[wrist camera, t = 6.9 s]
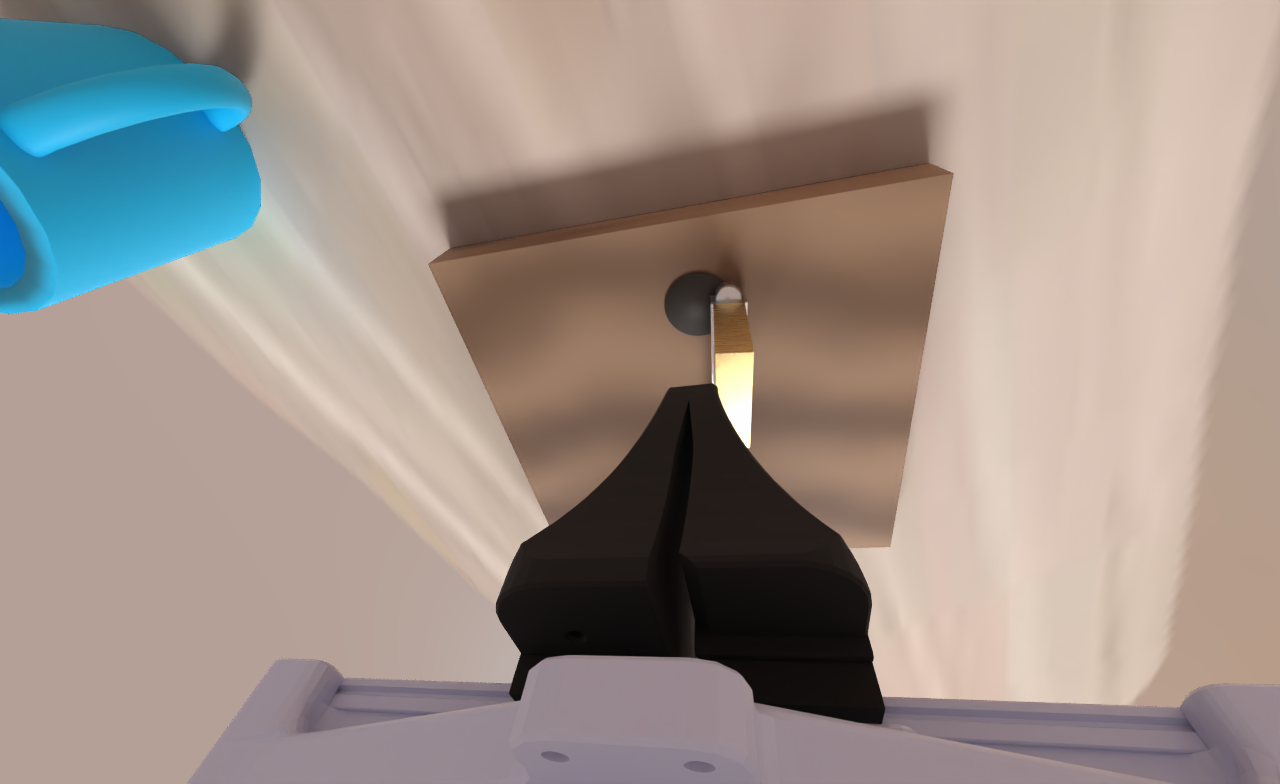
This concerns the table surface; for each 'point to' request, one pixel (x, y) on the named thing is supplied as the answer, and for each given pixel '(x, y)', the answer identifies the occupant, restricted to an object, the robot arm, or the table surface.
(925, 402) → the table surface
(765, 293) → the hole plate
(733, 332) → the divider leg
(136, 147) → the mug
